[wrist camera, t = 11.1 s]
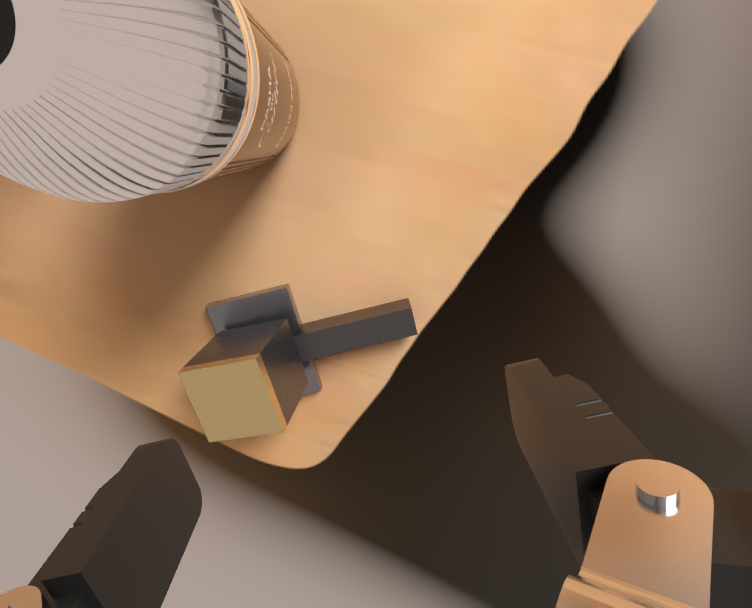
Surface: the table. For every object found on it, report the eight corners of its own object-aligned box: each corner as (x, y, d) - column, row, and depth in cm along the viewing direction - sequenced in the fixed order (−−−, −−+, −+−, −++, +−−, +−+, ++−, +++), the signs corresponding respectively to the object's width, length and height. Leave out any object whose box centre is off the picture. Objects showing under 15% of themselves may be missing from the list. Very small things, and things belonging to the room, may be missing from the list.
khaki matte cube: (220, 330, 38) (177, 372, 31) (286, 318, 37) (255, 359, 30) (244, 391, 40) (209, 442, 33) (308, 381, 39) (283, 432, 32)
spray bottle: (161, 158, 34) (-274, 197, 11) (163, 3, 31) (-461, -423, 8) (296, 182, 35) (161, 265, 12) (312, 34, 32) (171, -265, 8)
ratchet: (209, 303, 38) (183, 331, 33) (398, 256, 37) (404, 276, 32) (249, 402, 42) (231, 442, 36) (423, 361, 41) (432, 396, 35)
